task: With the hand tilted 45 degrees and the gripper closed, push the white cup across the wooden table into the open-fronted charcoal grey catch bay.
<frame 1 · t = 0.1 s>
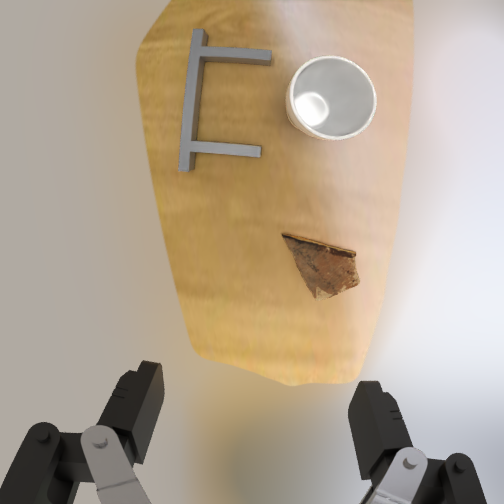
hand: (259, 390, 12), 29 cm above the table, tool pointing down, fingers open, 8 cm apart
white cup: (308, 110, 35), on the table
shard: (315, 268, 42), on the table
catch bay: (227, 101, 34), on the table
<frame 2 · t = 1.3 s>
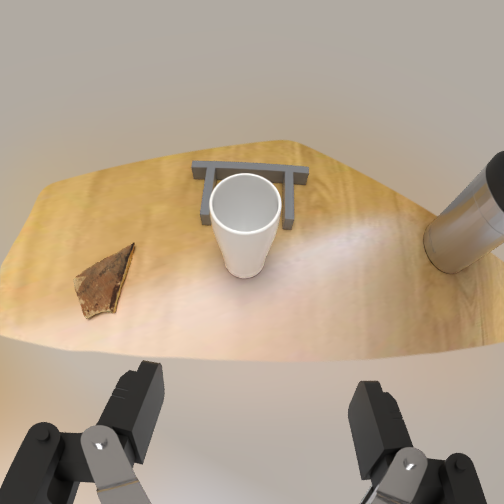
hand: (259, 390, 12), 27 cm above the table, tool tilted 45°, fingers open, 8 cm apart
white cup: (244, 261, 43), on the table
shard: (102, 280, 42), on the table
catch bay: (248, 199, 46), on the table
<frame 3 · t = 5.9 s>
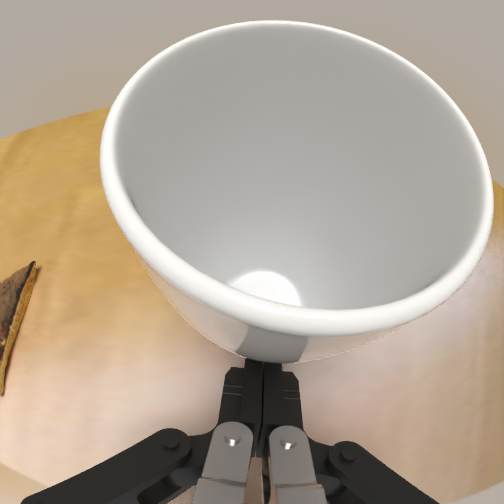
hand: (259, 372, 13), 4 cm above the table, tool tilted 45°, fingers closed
white cup: (259, 317, 18), on the table, touching gripper
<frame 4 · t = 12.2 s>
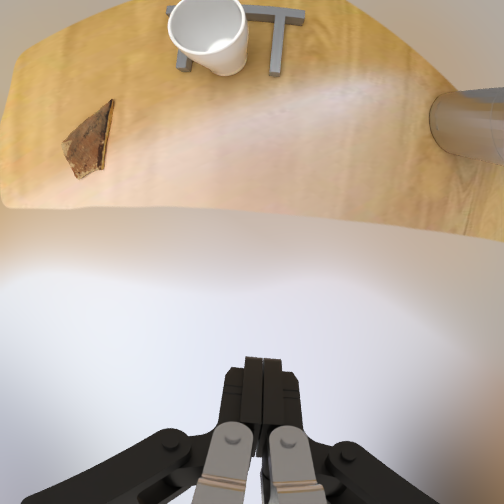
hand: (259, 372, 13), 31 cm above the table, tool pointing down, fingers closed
white cup: (226, 58, 35), on the table
shard: (88, 137, 40), on the table
catch bay: (233, 41, 34), on the table
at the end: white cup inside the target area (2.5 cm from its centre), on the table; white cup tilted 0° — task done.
